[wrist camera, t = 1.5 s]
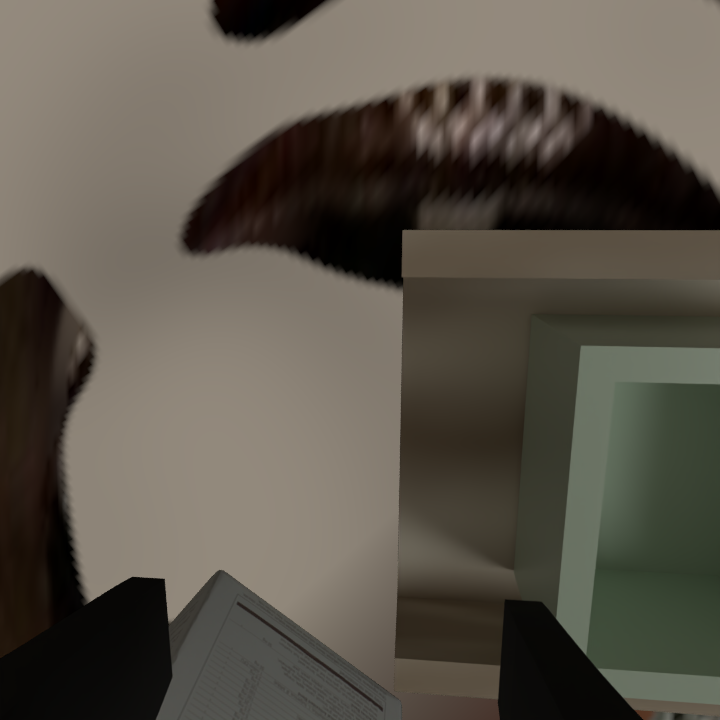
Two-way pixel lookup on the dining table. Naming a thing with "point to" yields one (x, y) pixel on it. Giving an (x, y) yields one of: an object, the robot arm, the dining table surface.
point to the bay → (499, 417)
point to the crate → (626, 496)
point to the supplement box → (260, 665)
